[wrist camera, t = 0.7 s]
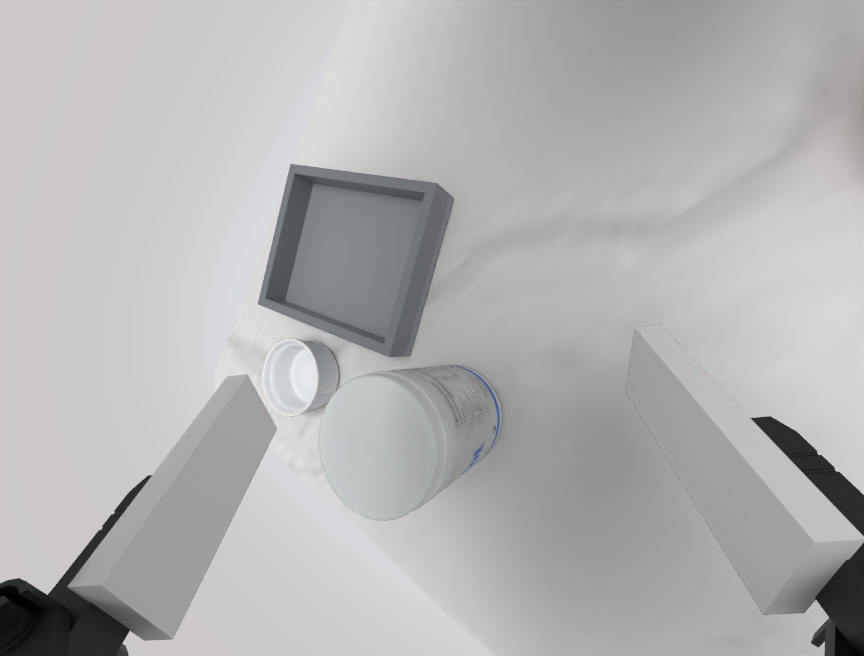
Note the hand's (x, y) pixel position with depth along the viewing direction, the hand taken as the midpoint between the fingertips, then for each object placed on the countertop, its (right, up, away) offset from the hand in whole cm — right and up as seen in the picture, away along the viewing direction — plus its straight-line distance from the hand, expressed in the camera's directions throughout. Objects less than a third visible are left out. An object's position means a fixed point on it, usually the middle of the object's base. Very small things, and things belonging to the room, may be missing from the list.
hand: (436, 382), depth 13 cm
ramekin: (-14, -4, +33) cm, 36 cm away
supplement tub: (+3, -6, +24) cm, 25 cm away
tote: (-9, +10, +30) cm, 33 cm away
